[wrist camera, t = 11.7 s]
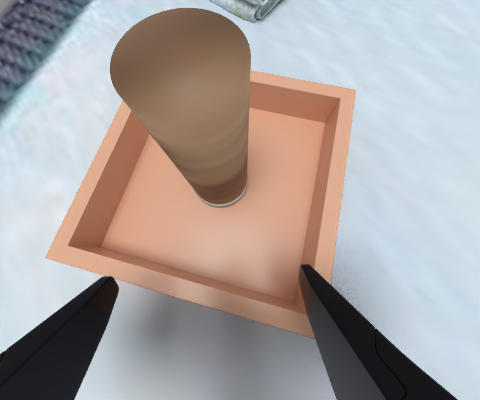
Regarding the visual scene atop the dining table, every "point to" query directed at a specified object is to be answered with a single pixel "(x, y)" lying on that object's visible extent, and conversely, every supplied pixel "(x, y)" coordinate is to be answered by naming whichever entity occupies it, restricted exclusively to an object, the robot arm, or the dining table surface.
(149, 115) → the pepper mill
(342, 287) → the dining table surface
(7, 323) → the dining table surface
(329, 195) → the bin
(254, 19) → the towel
